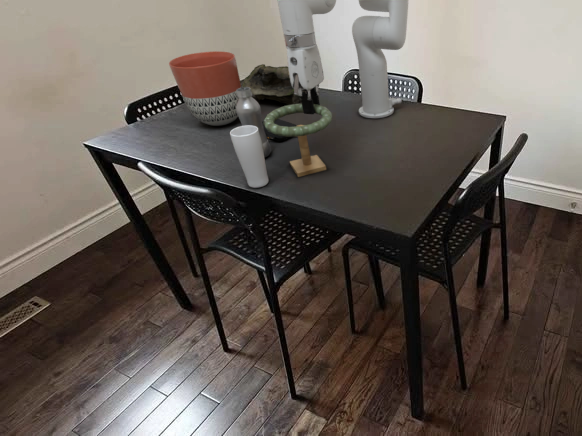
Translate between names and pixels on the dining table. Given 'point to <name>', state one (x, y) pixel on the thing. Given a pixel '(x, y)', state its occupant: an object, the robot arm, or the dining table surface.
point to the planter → (208, 85)
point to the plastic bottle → (251, 115)
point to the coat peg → (306, 160)
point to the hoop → (298, 129)
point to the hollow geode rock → (272, 84)
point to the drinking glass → (250, 154)
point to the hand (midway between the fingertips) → (312, 111)
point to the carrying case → (276, 137)
